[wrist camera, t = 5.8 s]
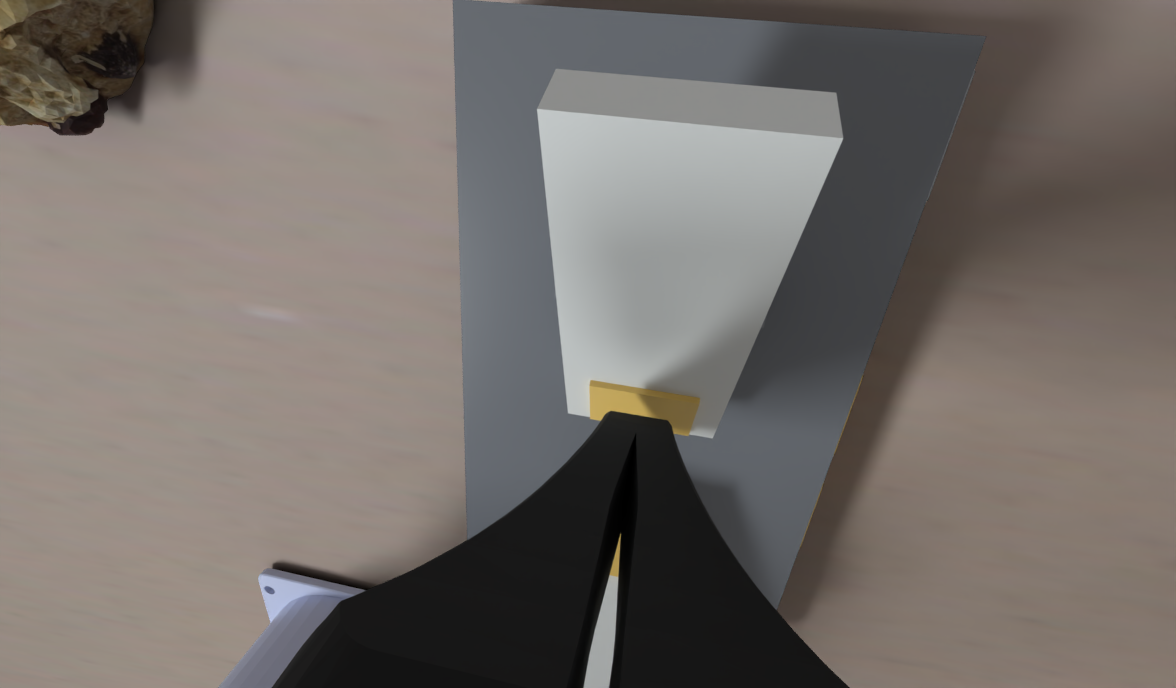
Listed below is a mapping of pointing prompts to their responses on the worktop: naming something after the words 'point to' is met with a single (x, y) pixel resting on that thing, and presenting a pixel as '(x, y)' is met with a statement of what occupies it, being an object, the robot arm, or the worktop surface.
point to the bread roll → (68, 59)
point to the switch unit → (804, 297)
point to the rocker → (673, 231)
